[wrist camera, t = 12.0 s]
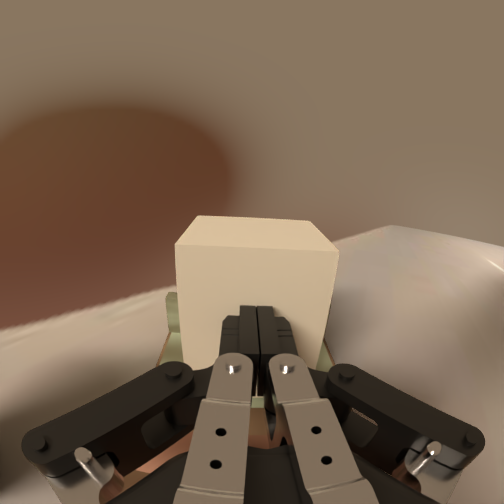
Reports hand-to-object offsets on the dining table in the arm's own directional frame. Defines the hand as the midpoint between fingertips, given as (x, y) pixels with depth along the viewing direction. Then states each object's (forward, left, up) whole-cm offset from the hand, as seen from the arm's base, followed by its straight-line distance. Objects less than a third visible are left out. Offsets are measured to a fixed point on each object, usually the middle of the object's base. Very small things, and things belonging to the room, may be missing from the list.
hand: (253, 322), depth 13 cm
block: (+1, -3, -5) cm, 6 cm away
